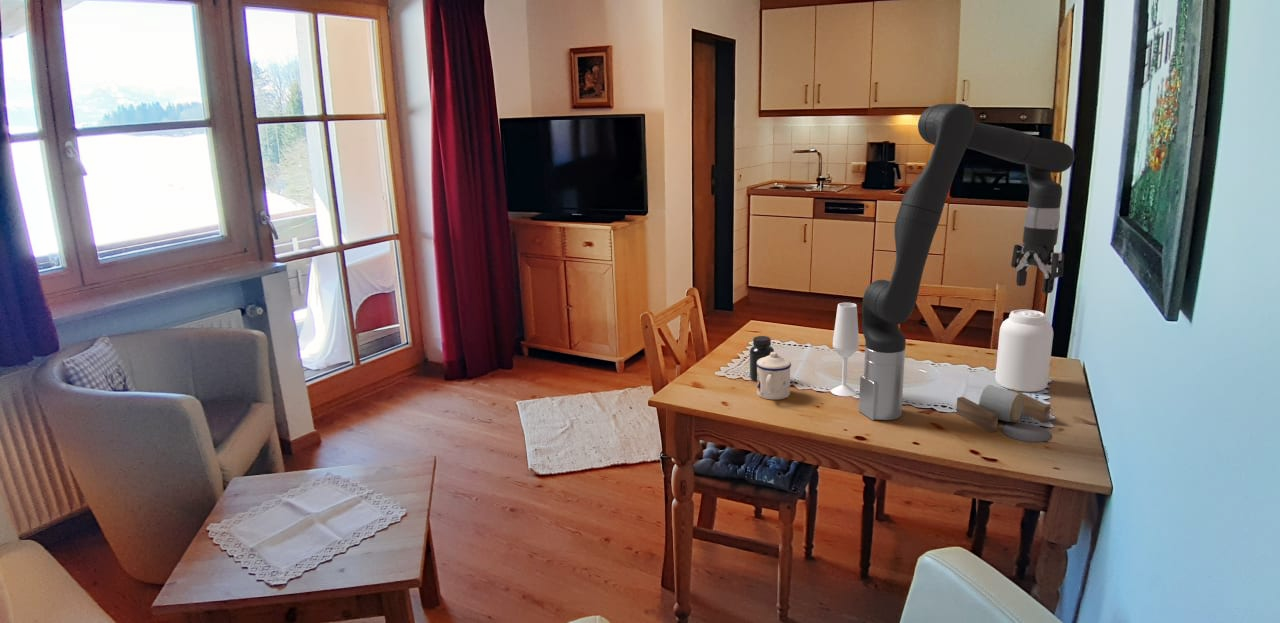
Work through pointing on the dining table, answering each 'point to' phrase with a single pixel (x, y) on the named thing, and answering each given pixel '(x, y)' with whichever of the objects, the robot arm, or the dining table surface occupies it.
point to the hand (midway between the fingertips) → (1033, 289)
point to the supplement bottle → (759, 353)
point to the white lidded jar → (1024, 351)
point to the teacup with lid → (773, 377)
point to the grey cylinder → (1002, 403)
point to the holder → (990, 419)
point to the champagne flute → (845, 342)
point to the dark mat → (1026, 432)
